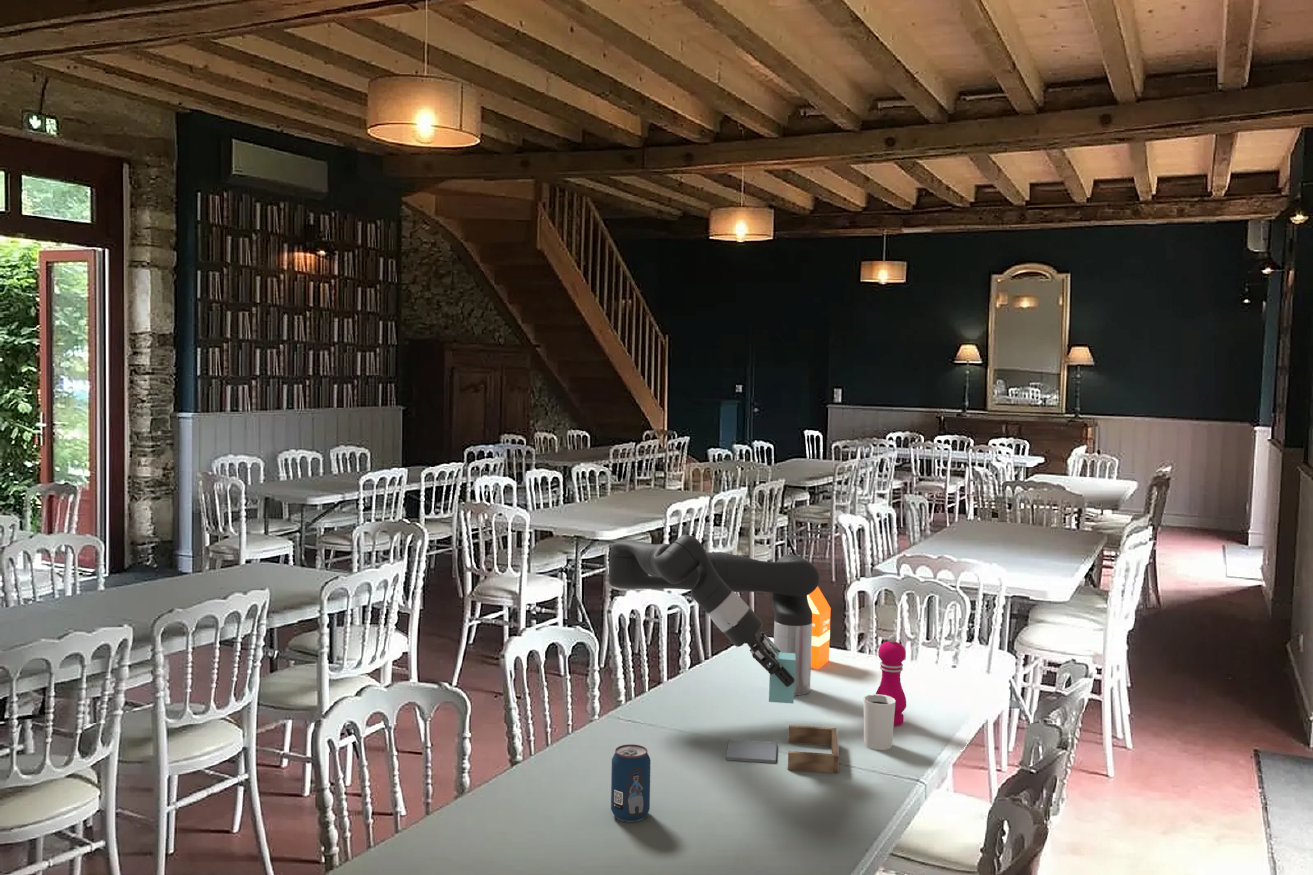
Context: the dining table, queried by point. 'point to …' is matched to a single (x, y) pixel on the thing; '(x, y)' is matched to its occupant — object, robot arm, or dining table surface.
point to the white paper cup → (878, 721)
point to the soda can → (630, 783)
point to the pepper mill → (892, 675)
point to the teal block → (776, 687)
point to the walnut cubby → (809, 759)
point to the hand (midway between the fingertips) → (791, 679)
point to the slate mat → (751, 751)
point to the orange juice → (819, 628)
